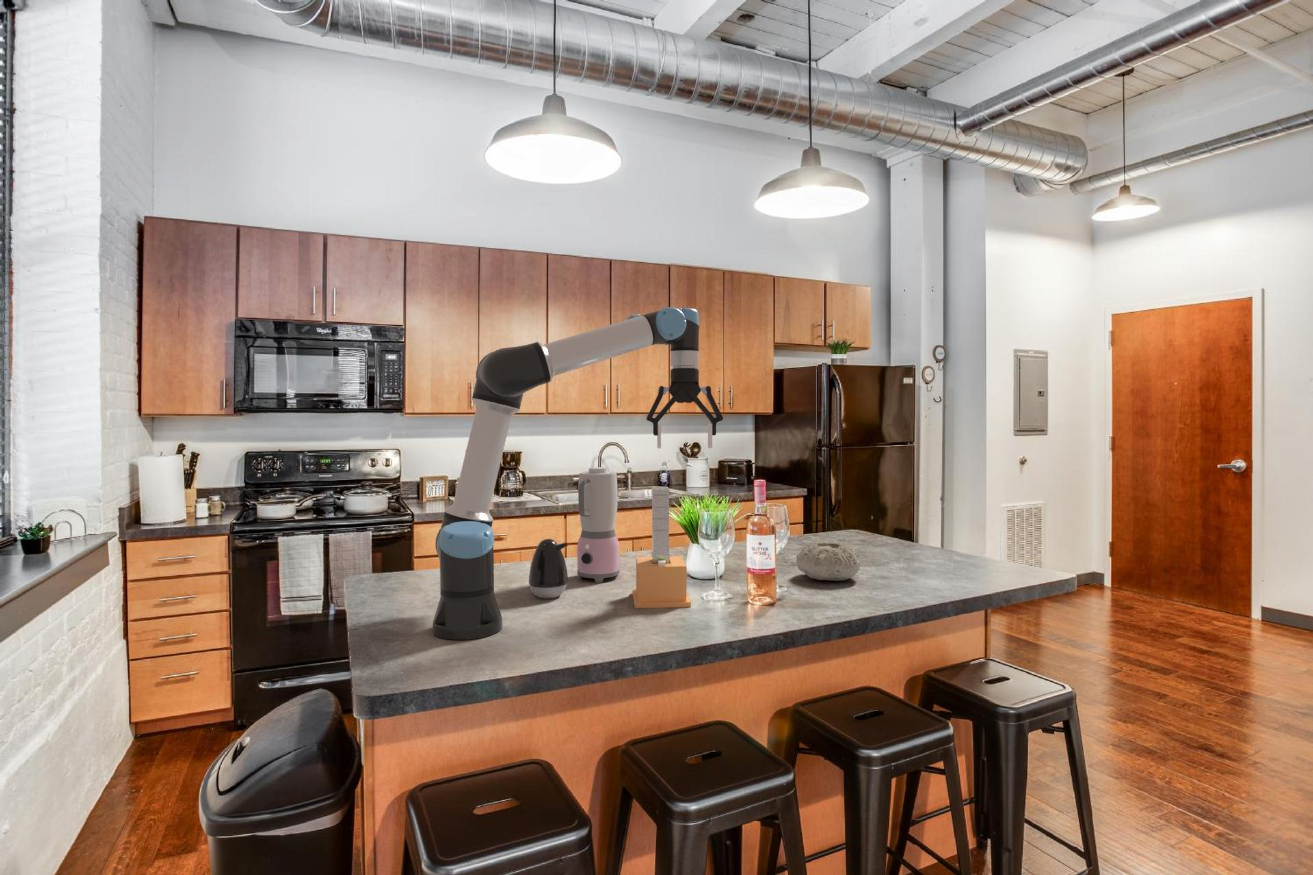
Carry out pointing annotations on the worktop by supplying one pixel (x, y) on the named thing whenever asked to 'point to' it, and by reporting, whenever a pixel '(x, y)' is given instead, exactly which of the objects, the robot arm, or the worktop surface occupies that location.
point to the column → (660, 524)
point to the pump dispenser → (548, 570)
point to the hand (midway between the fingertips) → (684, 448)
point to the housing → (660, 583)
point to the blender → (597, 525)
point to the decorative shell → (828, 561)
